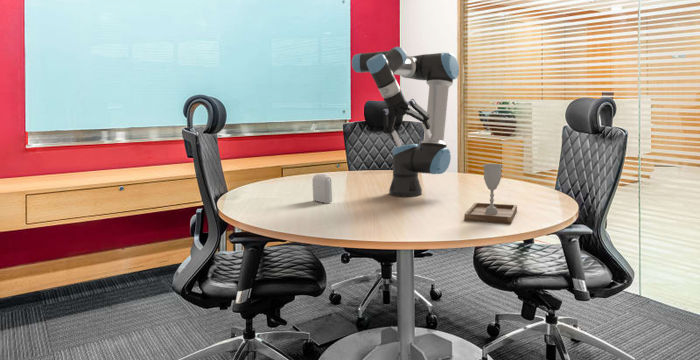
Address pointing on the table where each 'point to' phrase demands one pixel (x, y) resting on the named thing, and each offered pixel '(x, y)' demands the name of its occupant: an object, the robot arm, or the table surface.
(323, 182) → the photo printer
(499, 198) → the table surface
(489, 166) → the chalice
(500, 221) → the tray
